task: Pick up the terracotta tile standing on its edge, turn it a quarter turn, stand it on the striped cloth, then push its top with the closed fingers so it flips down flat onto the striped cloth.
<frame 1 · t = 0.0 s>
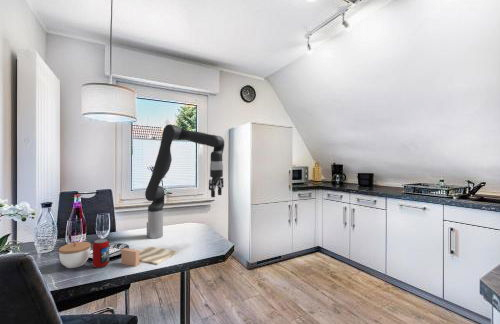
hand: (216, 196, 144), 29 cm above the table, fingers open, 8 cm apart
beverage can: (101, 265, 116), on the table
striped cloth: (152, 255, 128), on the table
lidded bowl: (75, 265, 117), on the table
tile: (130, 264, 118), on the table
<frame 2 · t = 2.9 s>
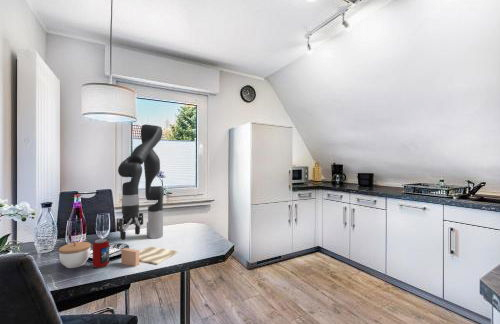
hand: (130, 236, 118), 13 cm above the table, fingers open, 8 cm apart
nothing on the table moved.
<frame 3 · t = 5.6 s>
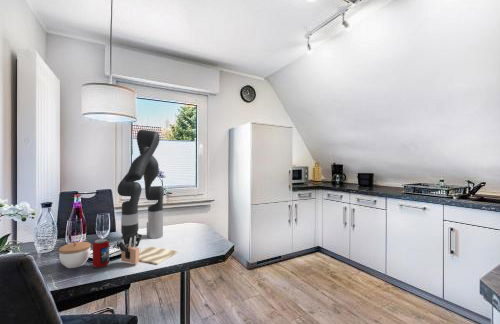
hand: (130, 257, 118), 3 cm above the table, fingers closed on tile, 2 cm apart
tile: (130, 261, 118), point 1 cm above the table, touching gripper
everything else where it was.
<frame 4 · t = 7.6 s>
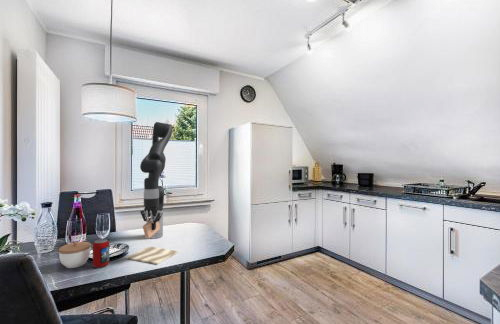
hand: (151, 229, 129), 14 cm above the table, fingers closed on tile
tile: (153, 233, 130), point 11 cm above the table, tilted 17°, touching gripper
everything else where it was.
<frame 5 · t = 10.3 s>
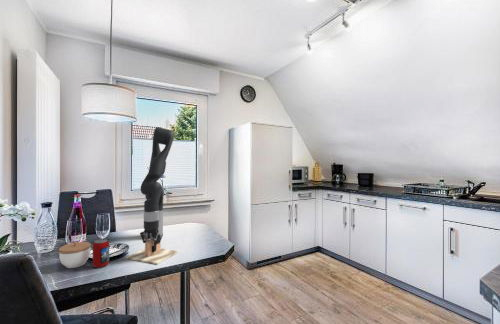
hand: (151, 251, 129), 2 cm above the table, fingers closed
tile: (152, 253, 130), point 1 cm above the table, touching striped cloth
everything else where it was.
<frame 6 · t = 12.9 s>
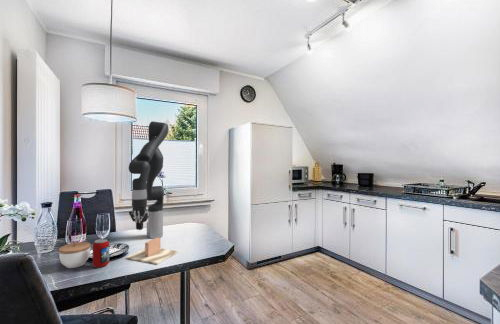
hand: (139, 229, 131), 13 cm above the table, fingers closed
nothing on the table moved.
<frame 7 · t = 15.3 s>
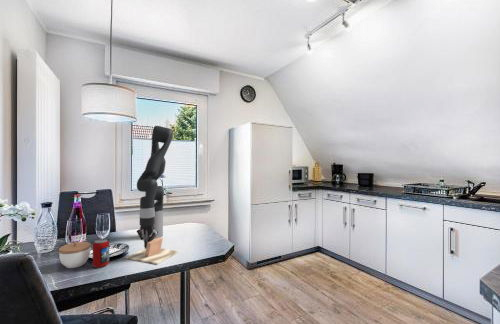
hand: (147, 248, 129), 4 cm above the table, fingers closed
tile: (153, 252, 130), point 1 cm above the table, tilted 12°, touching striped cloth
everything else where it was.
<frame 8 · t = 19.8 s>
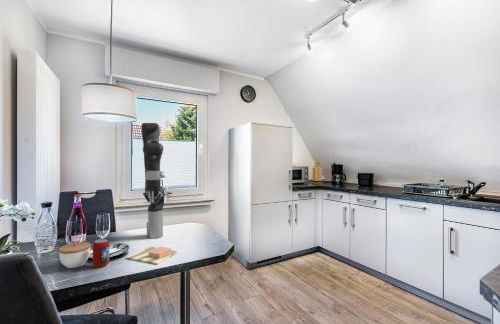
hand: (153, 209, 135), 23 cm above the table, fingers closed
tile: (154, 251, 129), point 2 cm above the table, tilted 90°, touching striped cloth
everything else where it was.
at the end: tile tilted 90°; tile inside the target area on the striped cloth (1.1 cm from its centre), point 1.9 cm above the striped cloth's base; the gripper is holding nothing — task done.
